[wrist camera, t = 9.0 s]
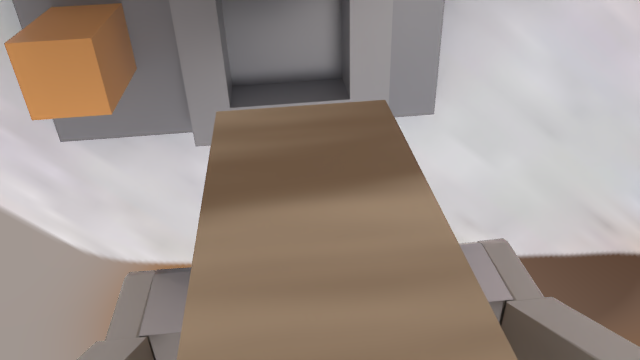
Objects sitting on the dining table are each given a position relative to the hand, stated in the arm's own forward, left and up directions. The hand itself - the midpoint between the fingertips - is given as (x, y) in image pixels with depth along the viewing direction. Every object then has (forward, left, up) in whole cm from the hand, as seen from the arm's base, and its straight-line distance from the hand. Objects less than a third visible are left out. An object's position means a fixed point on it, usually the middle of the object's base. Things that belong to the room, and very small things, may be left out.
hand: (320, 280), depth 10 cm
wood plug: (0, 0, -4) cm, 4 cm away
